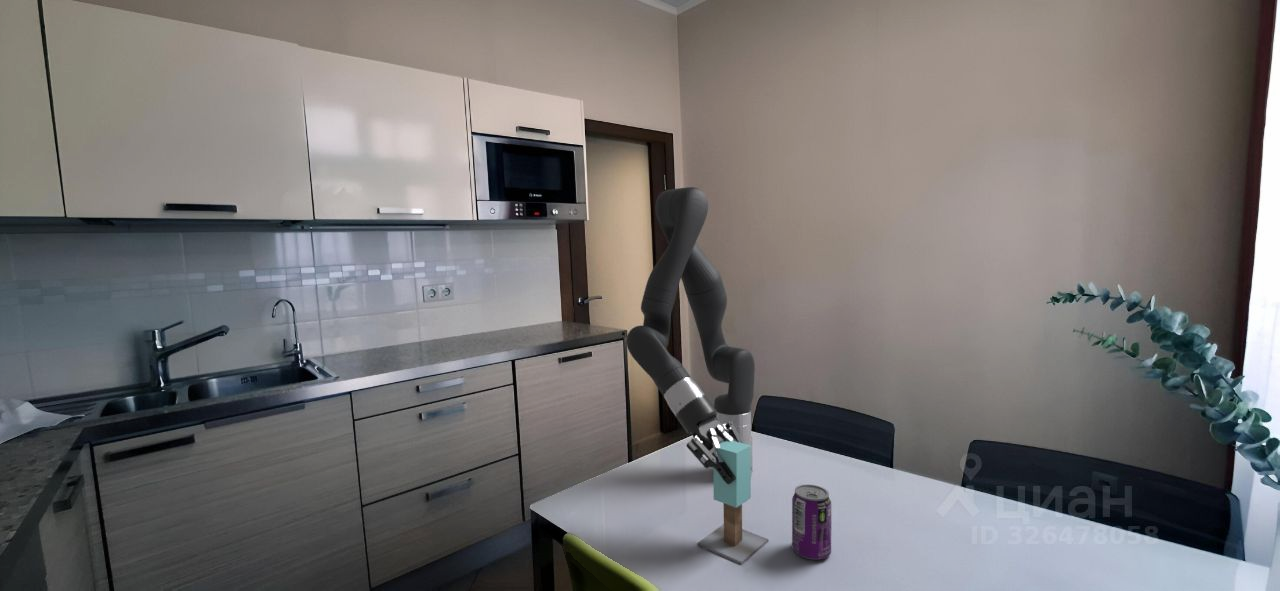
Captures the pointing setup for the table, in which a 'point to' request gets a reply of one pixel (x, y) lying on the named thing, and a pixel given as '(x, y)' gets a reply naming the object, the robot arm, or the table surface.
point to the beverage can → (811, 522)
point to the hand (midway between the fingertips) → (740, 476)
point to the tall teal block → (740, 466)
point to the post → (733, 538)
